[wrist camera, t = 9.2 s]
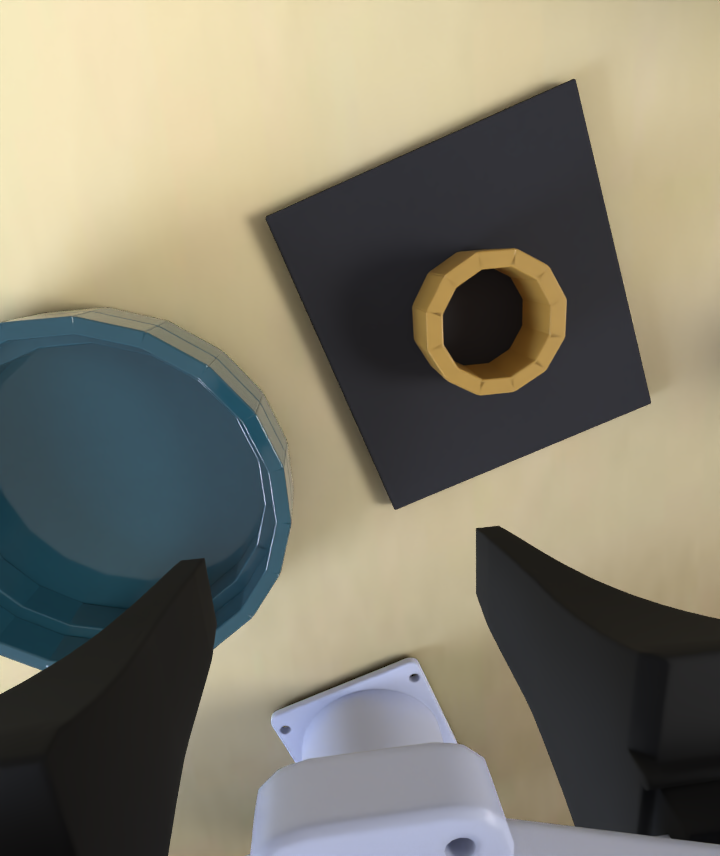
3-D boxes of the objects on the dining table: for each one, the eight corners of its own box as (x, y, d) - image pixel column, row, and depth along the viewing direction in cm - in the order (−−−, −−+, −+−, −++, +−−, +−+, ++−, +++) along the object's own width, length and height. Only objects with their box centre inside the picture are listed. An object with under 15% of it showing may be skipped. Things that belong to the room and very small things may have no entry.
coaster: (643, 399, 23) (652, 403, 23) (393, 504, 24) (394, 510, 23) (567, 82, 19) (575, 77, 19) (265, 217, 20) (264, 216, 19)
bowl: (343, 548, 24) (348, 594, 21) (66, 663, 25) (29, 726, 22) (193, 246, 20) (170, 245, 16) (-141, 396, 20) (-229, 424, 17)
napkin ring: (558, 331, 21) (590, 341, 19) (454, 402, 22) (472, 420, 19) (497, 222, 20) (524, 218, 17) (388, 301, 20) (398, 307, 18)
